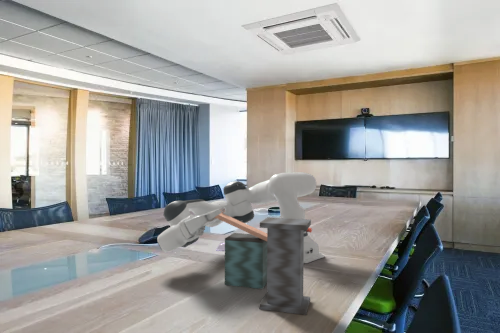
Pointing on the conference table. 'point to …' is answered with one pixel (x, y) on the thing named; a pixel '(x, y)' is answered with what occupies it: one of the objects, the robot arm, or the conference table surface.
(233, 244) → the low pedestal
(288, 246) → the tall pedestal
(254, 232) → the slat
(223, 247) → the mobile phone
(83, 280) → the conference table surface
